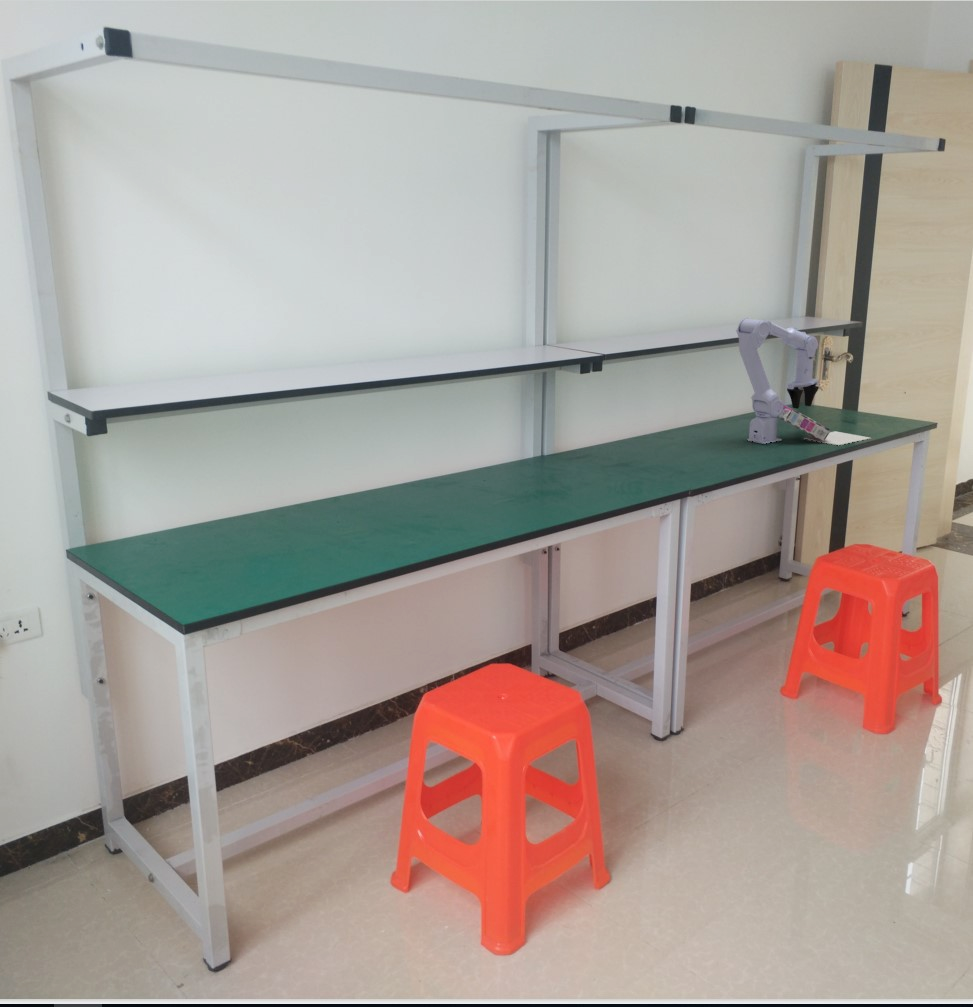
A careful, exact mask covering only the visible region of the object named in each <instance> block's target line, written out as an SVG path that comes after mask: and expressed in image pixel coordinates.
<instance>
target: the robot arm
mask: <svg viewBox="0 0 973 1007" xmlns="http://www.w3.org/2000/svg"><path fill="white" fill-rule="evenodd" d="M735 331H736V334H737V337H738V348H739V349H738V350H739V351H738V352H739V353H740V356H741V359H742V361H743V364H744V367H745V371H746V373H747V375H748V377H749V380H750V383H751V387H752V389H753V391H754V393H753V394H752V395H751V397H750V398H751V401H752V404H751V405H752V406H751V407H752V410H753V411H754V412H755V418H752V419H751V420H750V422H749V429H748V430H749V432H748V433H749V434H748V438H747V439H746V441H747V440H748V441H747V442H752V441H753V443H757V444H762V445H765V444H766V443H767V444H771V443H770V442H772V443H777V442H781V441H782V440H783V439H782V438H778V436H777V434H778V419H779V418H778V417H779V415H780V414H781V412H782V411H783V405H784V402H783V400H782V399H780V397H779V395H778V393H777V392H776V391H774V390H773V389H772V387H771V385H770V383H769V380H768V377H767V374H766V371H765V368H764V366H763V363H762V360H761V357H760V354H759V352H758V349H759V348H760V347H761V346H762V345H763V343H764V341H765V340H766V339H767V337H768V336H771V335H772V336H774V337H777V338H780V339H781V342H782V343H783V344H784V345H786V346H790V347H792V348H794V350H795V351H796V364H795V376H794V377H795V378H794V381H791V382H789V383H787V388H786V391H787V393H788V395H789V398H790V401H791V404H792V405H791V407H792V409H795V410H796V409H799V407H800V403H801V398H802V395H803V393H804V406H805V407H811V406H812V404H813V401H814V398H815V396H816V394H817V392H818V391H819V388H820V386H819V385H820V384H819V383H820V379H817V378H816V379H815V378H814V379H813V370H814V357H815V355H816V351H817V349H818V347H819V342H818V339H817V337H816V336H814V335H809V334H807V333H806V332H805V331H799V330H798V328H797V327H793V326H791V327H788V328H785V327H782V326H780V325H778V324H776V323H774V322H772V321H770V320H765V319H754V318H748V317H746V318H742V319H741V320H740V321H739V323H738V326H737V328H736V330H735ZM801 388H803V389H801ZM776 441H777V442H776Z"/></svg>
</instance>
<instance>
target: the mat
mask: <svg viewBox="0 0 973 1007" xmlns="http://www.w3.org/2000/svg"><path fill="white" fill-rule="evenodd" d="M803 438H804V439H803V440H805V439H808V440H807V441H811V440H813V441H812V442H816V441H817V442H816V443H821V442H822V443H821V444H826V443H827V444H828V445H831V444H832V445H833V446H836V445H838V446H837V447H840V446H839V445H841V446H845V445H844V444H846V445H849V444H848V443H850V444H853V443H852V442H855V443H858V442H857V441H859V442H863V441H862V440H864V441H868V440H871V439H872V437H868V436H862V435H858V434H853V433H846V432H841V431H837V430H836V431H830V433H829V434H828V436H827V437H826V439H825V441H824V442H823V441H821V440H819V439H817V438H815V437H813V436H811V435H810V436H807V437H803ZM867 439H868V440H867ZM827 444H826V445H827ZM832 445H831V446H832Z"/></svg>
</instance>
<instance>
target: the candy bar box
mask: <svg viewBox="0 0 973 1007" xmlns="http://www.w3.org/2000/svg"><path fill="white" fill-rule="evenodd" d="M778 419H779V420H781V421H783V422H786V423H788V424H789V425H790V426H793V427H794V428H796V429H798V430H800V431H801V432H804V433H806V434H807V435H810V436H813V437H815V438H817V439H819V440H821V441H823V442H824V441H825V439H826V437H827V436H828V434H829V433H830V432H832V431H831V429H829V428H828V427H826V426H824V425H822V424H821V423H819V422H818V421H815V420H814V419H812V418H810V417H808V416H807V415H805V414H802V413H801V412H799V411H797V410H796V409H795V408H793V407H792V408H791V407H789V406H787V405H785V404H783V411H782V412H781V414H780V415H779V417H778Z"/></svg>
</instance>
